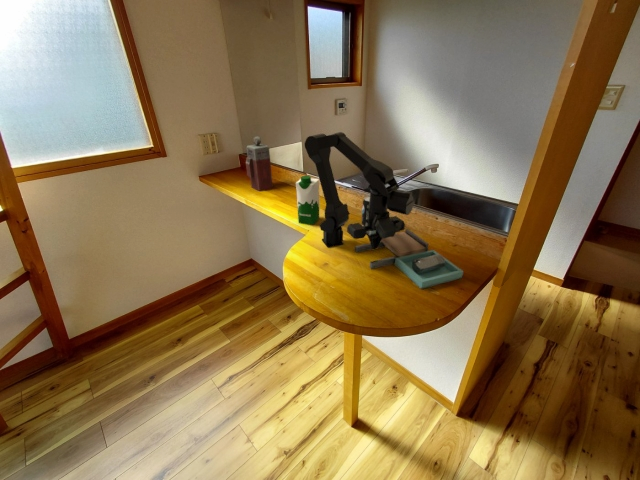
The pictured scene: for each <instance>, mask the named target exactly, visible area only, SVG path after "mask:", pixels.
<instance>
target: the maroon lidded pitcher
mask: <svg viewBox="0 0 640 480" xmlns="http://www.w3.org/2000/svg"><path fill="white" fill-rule="evenodd" d="M252 139H253V144H250V145H249V144H248V145H247V146H246V155H247V157H245V159H246V160H245V167H246V175H247V177H249V178H250V185H251V188H252V189H253V190H255V191H257V192H264V191H267V190H270V189H271V190H272V189H273V186H274V185H273V176H272V166H271V156H270V155H271V154H270V153H271V152H270V146H269V145H266V144H262V142H261V141H262V140H261V137H260V136H253V138H252Z"/></svg>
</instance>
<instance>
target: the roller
mask: <svg viewBox="0 0 640 480" xmlns="http://www.w3.org/2000/svg"><path fill="white" fill-rule="evenodd" d="M443 257H444V256H443V255H442V254H441V253H439V254H437V255H433V256H428V257H424V258H420V259H416V260H413V262H412V268H413V270H414V272H415V273H416V274H420V273H424V272H428V271H432V270H436V269H440V268H443V267H444V265H445V260H444V258H445V257H444V258H443Z"/></svg>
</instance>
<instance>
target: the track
mask: <svg viewBox="0 0 640 480" xmlns="http://www.w3.org/2000/svg"><path fill="white" fill-rule="evenodd" d="M404 230H405V231H404V232H405V233H406V234H407V235H409V236H410V237H412V238H413V239H414V240H416V241H417V242H418V243H420V244H421V245H423V246H424V247H425V248H426V250H425V251H429V245H430V244H429V243H428V242H427V241H425V240H424V239H423V238H421V237H420V236H418V235H417V234H415V232H413V231H411V230H410V229H409V228H405V229H404ZM385 247H386V246H385V245H384V243H383V242H382V241H380V243H379V245H378V247H377V249H381V248H385ZM386 248H387V247H386ZM371 250H373V249H372V246H371V243H370V242H368V243H364V244H360V245H359V244H358V245H355V246H354V252H355V253H356V254H357V253H361V252H367V251H371ZM395 258H399V256H396V255H395V256H390V257H385V258H380V259H377V260H373V261H370V262H369V268H370V269H371V270H373V269H377V268H381V267H386V266H391V265H395Z"/></svg>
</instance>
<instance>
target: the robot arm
mask: <svg viewBox="0 0 640 480" xmlns="http://www.w3.org/2000/svg"><path fill="white" fill-rule="evenodd" d="M333 147H334V148H335V149H336V150H337V151H338V152H339V153H341V155H343V156H344V157H345V158H346V159H347V160H349V161H350V162H351V163H352V164H353V165H354V166H356V168H358V170H360V171H361V173H362V176H363V178H364V180H365V181H366V182H367V184H369V185H367V187H366V188H364V189H363V192H365V193H369V196H370V201H369V207H368V208H367V211H368V212H369V214H368V219H366V223H368V225H366V226H363V225H362V224H361V223H360V222H355V223H350V224H348V225H347V227H346V232H347V233H348V234H349V235H350V236H351V238H353V239H354V240H358V239H363V238H365V237H366V236H367V239H368V241H369V243H371V246H372V250H373V251H376V250H377V249H378V248H377V247H378V245H379V243H380V241H381V240H382V238H387V237H393V236H394V235H395V233H400V232H401V231H404V230H406V228H405V227H406V223H405V221H404V220H402V219H401V218H400V217H398V216H397V215H395V216H391V215H390V212H394V213H398V214H401V215H405V216H409V215H410V214H411V213H412V211H413V208H414V203H415V201H414V196H413V192H412V191H410V190H409V191H408V190H407V191H406V190H401V189H400V186H399V184H398V181H397V180H396V178H395V176H394V170H393V169H392V167H390V166H389V165H387V164H386V163H383V161H379V160H378V159H377V160H376V159H374V158H372V157H371V156H370V155H369V154H367V153H366V152H365V151H364V150H363V149H361V148H360V147H359V146H358V145H357V144H356V143H354V142H353V141H352V140H351V139H350V138H348V136H347V135H346V134H345V133H344V132H342V131H339V132H336V133H335V132H334V133H332V134H329V135H326V133H318V134H312V135H309V136H307V137H306V139H305V141H304V148H305V151H306V154H307V155H308V157H309V159H310V161H312V162H313V163H314V165H315V167H316V172H317V176H318V179H319V184H320V186H321V191H322V193H323V197H324V201H325V209H324V217H325V219H324V221H322V222H321V223H320V224H319V228H320V231H323V232H322V233H323V234H322V235H323V238H322V239H321V241H322V243H323V244H324V245H325V247H327V248H332V247H337V246H342V245H344V242H343V241H344V231H343V228H342V227H343V226H345V224H346V223H348V221H349V219H350V211H349V209H348V204H347V203H343V202H342V201H341V199H340V196H339V193H338V189H337V185H336V181H335V177H334V173H333V169H332V165H331V161H330V158H331V157H330V156H331V152H332V151H331V150H332V149H331V148H333ZM387 185H388V186H387ZM386 186H387V187H386Z"/></svg>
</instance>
